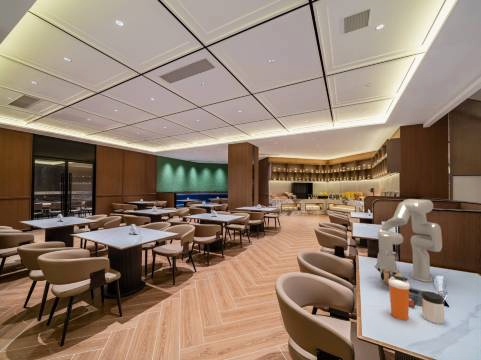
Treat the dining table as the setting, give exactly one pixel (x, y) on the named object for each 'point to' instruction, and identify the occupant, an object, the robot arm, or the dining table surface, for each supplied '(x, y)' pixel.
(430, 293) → the jar
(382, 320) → the dining table surface
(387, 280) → the pipe stub
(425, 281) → the robot arm
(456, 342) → the dining table surface
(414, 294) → the valve body
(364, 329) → the dining table surface
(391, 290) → the shaker bottle
